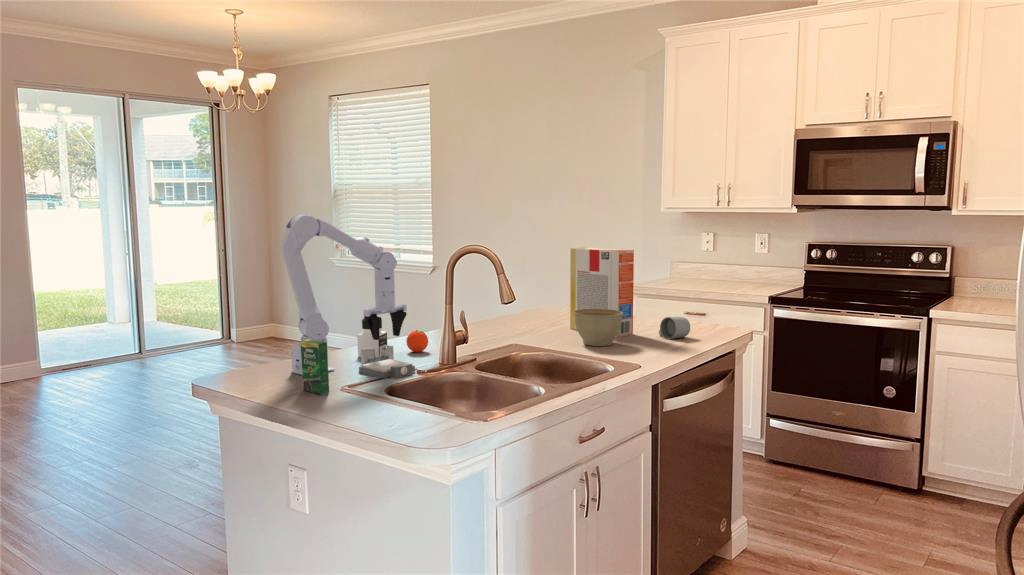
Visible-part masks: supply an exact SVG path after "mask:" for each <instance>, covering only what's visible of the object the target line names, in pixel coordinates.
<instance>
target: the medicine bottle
mask: <svg viewBox="0 0 1024 575" xmlns="http://www.w3.org/2000/svg"><path fill="white" fill-rule="evenodd" d="M382 324H383V320H382V318H381V321H380V328H379V340H374V339H373V337H372V334H371V331H370V328H369V326H368V324H367V322H366V320H365V319H364V318H362V320H361V328H362V330H361V331H362V332H361V333H359V334H357V335H356V336H357V338H356V339H357V358H361V349H363V348H375V359H380V346H383V345H388V331H385V330H383V325H382Z"/></svg>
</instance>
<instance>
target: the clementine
mask: <svg viewBox="0 0 1024 575" xmlns="http://www.w3.org/2000/svg"><path fill="white" fill-rule="evenodd" d="M426 333H427V334H429V332H428V331H426V330H420V329H419V330H418V329H416V330H413V331H411V332H410V333H409V334H408V335H407V337H406V346H407V348H408V349H409V350H410V351H412V352H413V353H421V352H423V351H425V350H426V349H427V347H428V345H429V337H428V335H427V334H426Z"/></svg>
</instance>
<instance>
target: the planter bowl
mask: <svg viewBox="0 0 1024 575" xmlns="http://www.w3.org/2000/svg"><path fill="white" fill-rule="evenodd" d="M574 316H575V324H576V328H577V330H576V331H577V332H578V334H579V336H580V337H581V339H582V342H583V344H584V345H587V346H591V347H592V346H593V347H594V346H595V347H606V346H612V344H613V341H614V340H615V338H617V337H616V335H617V334H618V332H619V330H620V327H621V323H622V316H623V312H621V311H618V310H612V309H580V310H575V311H574Z"/></svg>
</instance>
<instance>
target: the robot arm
mask: <svg viewBox="0 0 1024 575" xmlns="http://www.w3.org/2000/svg"><path fill="white" fill-rule="evenodd" d="M315 236H316V237H326V238H328V239H330V240H331V241H334V242H336V243H338V244H340V245H342V246H344V247H346V248H348V249H349V252H350V254H351V256H353V257H355V258H357V259H359V260H360V261H363V262H364V263H366V264H368V265H370V266H372V268H373V269H374V296H375V297H374V304H375V306H373V307H369V308H364V309H363V311H362V312H363V319H365V320H366V322H367V324H368V326H369V328H370V331H371V334H372V337H373V339H374V340H379V328H380V321H381V319H382V316H378V315H384V314H389V316H390V318H391V326H392V334H393V335H392V336H395V337H400V335H401V330H402V326H403V324H404V320H405V319H406V317H407V304H406V303H398V304H396V295H395V294H396V293H395V292H396V290H395V288H396V287H395V286H396V284H395V269H396V267H397V264H398V261H397V259H396V256H395V255H394V254H393V253H392V252H390V251H386V250H384V247H383V246H378V245H376V244H374V243H372V242H370V239H369V238H367V237H358V238H354V237H353V236H351V235H349V234H348V233H346V232H344V231H343V230H340V229H339V228H337V227H336V226H334V225H332V224H331V223H329V222H327V221H325V220H323V219H319V218H316V217H315V216H312V215H309V214H295V215H294V216H292V217H291V218H290V219H289V221H288V222H287V223H286V225H285V228H284V234H283V238H282V241H281V244H280V253H281V255H282V258H283V261H284V262H283V263H284V264H285V269H286V272H287V274H288V278H289V281H290V284H291V287H292V288H291V289H292V292H293V295H294V298H295V301H296V304H297V309H298V312H297V314H298V318H299V322H298V329H299V332H300V333H301V335H302V336H301V337H300V341H302V340H307V339H310V340H316V341H324V342H327V343H328V337H327V336H328V334H329V330H330V329H329V328H330V327H329V324H328V323H327V322H326V320H325V319H324V318H323V315H322V312H321V311H320V309H319V307H318V305H317V302H316V299H315V295H314V292H313V290H312V286H311V282H310V278H309V276H308V272H307V268H306V266H305V262H304V259H303V254H302V252H301V251H302V250H303V249H304V247H305V246H306V244H307V243H308V242H309V241H310V240H312V239H313V238H314V237H315ZM300 341H299V342H297V343H294V344H293V345H292V347H291V370H290V373H294V374H297V375H301V376H303V375H302V360H301V345H300ZM328 353H329V352H328V347H327V357H328V358H329V356H328ZM333 371H336V370H335V367H334V368H333V367H330V366H328V372H333Z"/></svg>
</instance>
